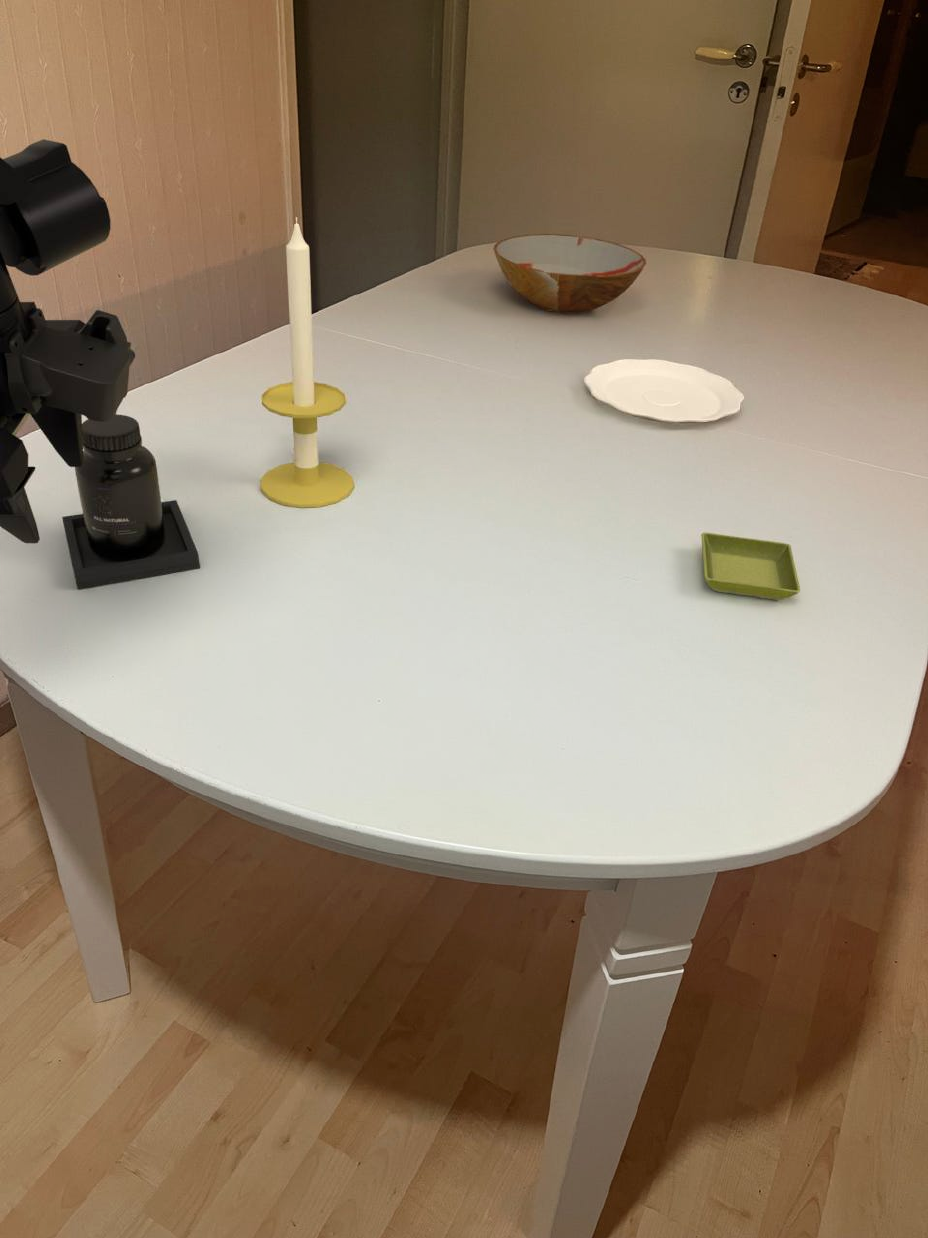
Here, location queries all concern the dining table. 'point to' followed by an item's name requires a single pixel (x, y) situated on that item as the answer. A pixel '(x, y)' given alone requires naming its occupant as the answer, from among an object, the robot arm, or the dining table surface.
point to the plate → (663, 391)
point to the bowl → (567, 270)
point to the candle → (303, 402)
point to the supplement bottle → (119, 491)
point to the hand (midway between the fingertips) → (55, 502)
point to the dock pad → (100, 571)
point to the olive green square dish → (749, 566)
